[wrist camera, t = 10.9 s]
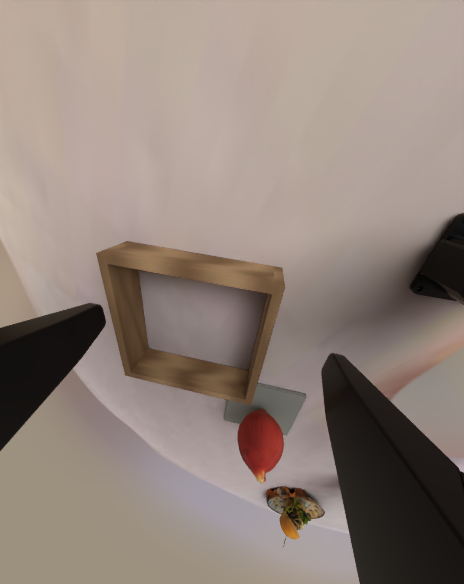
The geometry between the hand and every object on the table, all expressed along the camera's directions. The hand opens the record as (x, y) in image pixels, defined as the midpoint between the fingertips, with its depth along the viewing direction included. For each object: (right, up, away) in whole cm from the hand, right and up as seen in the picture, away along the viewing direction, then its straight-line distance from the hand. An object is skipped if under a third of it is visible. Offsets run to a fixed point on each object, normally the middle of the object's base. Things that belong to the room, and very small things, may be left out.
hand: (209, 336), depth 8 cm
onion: (+5, -15, +21) cm, 26 cm away
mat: (+5, -15, +21) cm, 27 cm away
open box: (-3, -1, +15) cm, 16 cm away
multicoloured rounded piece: (+15, -43, +35) cm, 58 cm away
